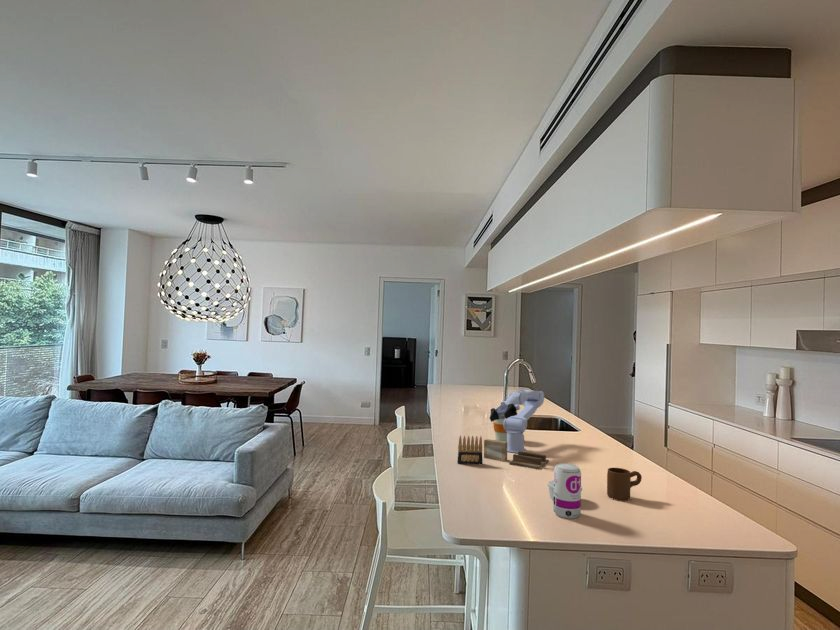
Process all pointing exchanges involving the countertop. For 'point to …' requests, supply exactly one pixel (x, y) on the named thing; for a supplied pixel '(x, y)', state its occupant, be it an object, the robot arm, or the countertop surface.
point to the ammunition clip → (470, 451)
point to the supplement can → (567, 490)
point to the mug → (621, 483)
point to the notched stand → (529, 460)
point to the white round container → (551, 489)
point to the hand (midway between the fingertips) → (498, 417)
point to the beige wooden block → (495, 449)
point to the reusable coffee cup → (500, 429)
